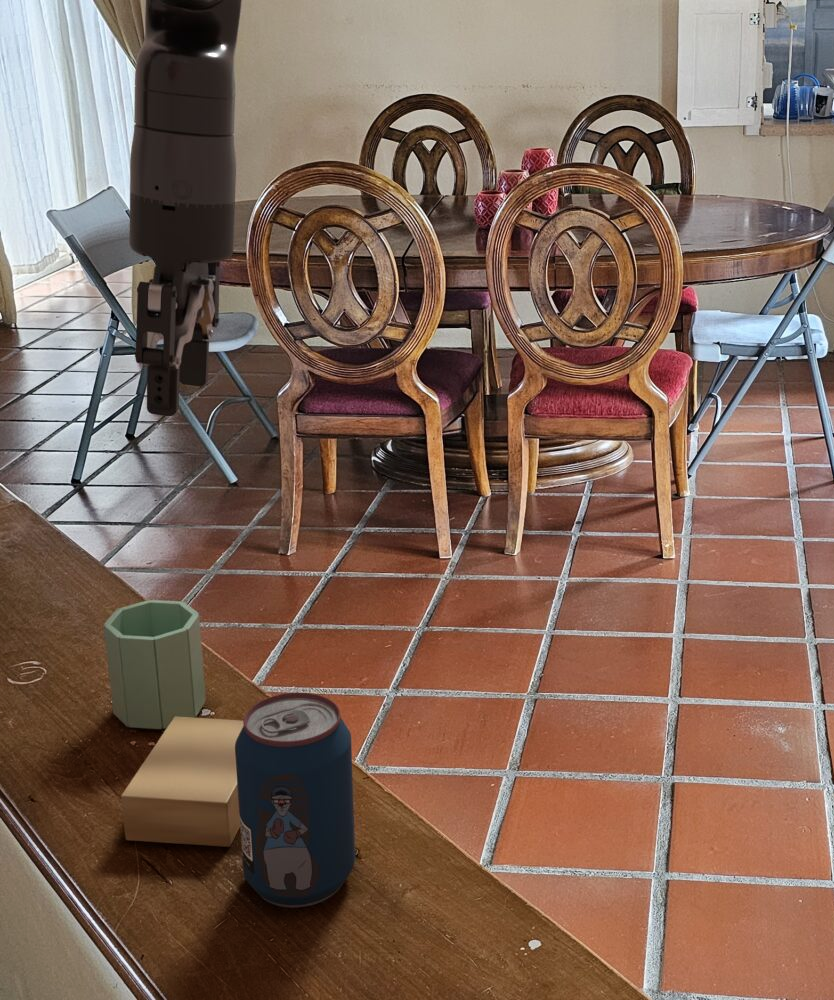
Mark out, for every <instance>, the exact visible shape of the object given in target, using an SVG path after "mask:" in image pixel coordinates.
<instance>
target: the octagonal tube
mask: <svg viewBox="0 0 834 1000" xmlns="http://www.w3.org/2000/svg"><path fill="white" fill-rule="evenodd" d="M103 633H104V641H105V649H106V659H107V660H106V661H107V670H108V676H109V677H108V678H109V687H110V695H111V704H112V705H111V706H112V713H113V715H115V717H116V718H117V719H119V721H120V723H121V724H122V725H123V726H124V727H125V728H128V729H130V730H134V731H137V732H142V733H143V732H145V733H157V732H158V733H159V732H165V730H166V729H167V727H168V726H169V724H170V723H171V721H172V720H173V718H174V717H175V716H178V717H193V718H198V716H199V714H201V711H202V708H203V707H204V704H206V701H207V697H206V695H207V694H206V684H205V683H206V682H205V671H204V670H205V669H204V659H203V647H202V646H203V645H202V634H201V621H200V613H199V612H198V611H197V610H195V609H194V608H193V607H191V605H188V603H186V602H185V601H179V600H163V599H162V600H161V599H150V600H149V599H147V600H143V601H141V602H136V603H133V604H130V605H127V606H122V607H119V608H117V609H115V610H114V612H113V613H112V614H111V615H110V617H108V619H107V620H106V621H105V622H104V623H103Z"/></svg>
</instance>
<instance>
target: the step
mask: <svg viewBox="0 0 834 1000" xmlns="http://www.w3.org/2000/svg"><path fill="white" fill-rule="evenodd" d="M243 721H244V720H239V719H225V718H223V719H222V718H207V717H196V718H193V717H178V716H175V717H174V718H173V720H172V721H171V723H170V724H169V726H168V727H167V729H166V730H165V731H163V733H162V734H161V736H160V737H159V739H158V741H157V742H156V744H155V745H154V746H153V748H152V749H151V751H150V752H149V754H148V755H147V757H146V758H145V760H144V761H143V763H142V764H141V766H140V767H139V769H138V770H137V772H136V773H135V775H133V778H131V780H130V782H129V783H128V785H127V786H126V788H125V789H124V791H123V792H122V794H121V795H120V801H121V811H122V818H123V826H124V838H125V841H133V842H147V843H149V842H150V843H163V844H177V845H178V844H180V845H191V846H192V845H194V846H207V847H208V846H211V847H225V848H230V847H231V846H232V844H233V841H234V840H235V838H236V835H237V834H238V832H239V830H240V815H239V801H238V786H237V771H236V756H235V743H236V740H237V738H238V736H239V734H240V732H241V730H242V728H243V726H244V725H243Z"/></svg>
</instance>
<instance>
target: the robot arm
mask: <svg viewBox="0 0 834 1000" xmlns="http://www.w3.org/2000/svg"><path fill="white" fill-rule="evenodd" d="M242 3H243V0H145V13H144V14H145V15H144V17H145V18H144V40H143V43H142V45H141V47H140V49H139V51H138V54H137V56H136V57H137V58H136V63H135V71H134V102H133V103H134V105H133V106H134V109H133V110H134V113H133V114H134V115H133V117H134V120H133V122H134V125H133V136H132V141H131V149H130V159H129V165H130V166H129V169H130V170H129V174H130V175H129V242H128V243H129V246H130V249H131V250H132V251H133V252H135V253H136V254H138V255H140V256H143V257H149V258H150V259H151V260H152V261H154V265H155V266H154V268H153V277H152V278H149V280H148V281H139V282H138V285H137V287H136V293H137V296H136V297H137V298H136V302H137V303H136V326H135V327H136V330H135V331H136V332H135V353H134V358H135V362H136V363H137V364H143V365H144V366H146V367H147V368H146V410H147V412H148V413H149V414H151V415H157V416H164V417H173V416H175V415H176V414H177V413H178V412H179V409H180V383H181V384H182V385H187V386H194V387H203V386H205V385H206V384H207V382H208V380H209V359H210V358H209V357H210V353H209V352H210V341H212V338H213V337H214V328H217V327H218V326H219V323H220V316H219V315H220V314H219V312H220V269H221V268H220V267H221V262H223V261H226V260H228V259H230V258H231V257H232V255H233V254H234V242H235V241H234V239H235V237H234V236H235V213H236V212H235V210H236V188H237V187H236V184H237V159H236V151H235V135H234V134H235V113H236V110H235V109H236V107H235V106H236V75H235V73H236V72H235V55H236V49H237V43H238V37H239V36H238V35H239V27H240V20H241V13H242ZM161 340H162V342H163V346H162V348H157V346H158V342H159V341H161Z"/></svg>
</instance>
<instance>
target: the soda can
mask: <svg viewBox="0 0 834 1000" xmlns="http://www.w3.org/2000/svg"><path fill="white" fill-rule="evenodd" d="M242 721H243V725H244V726H243V728H242V730H241V732H240V734H239V736H238V738H237V740H236V743H235V756H236V771H237V786H238V801H239V815H240V828H239V830H240V843H241V857H242V871H243V875H244V878H245V879H246V881H247V883H248V884H249V885H250V887H251V888H252V890H254V891H255V892H256V893H257V894H258V895H259V896H260V897H261V898H262V899H263V900H265V901H266V902H267V903H269V904H272V905H275V906H278V907H282V908H290V909H291V908H295V909H296V908H305V907H311V906H314V905H317V904H319V903H323V902H324V901H327V900H329V899H330V898H331V897H333V895H335V894H336V893H338V891H339V890H340V889H341V888H342V886H343V885H344V883H345V882H346V881H347V879H348V877H349V876H350V874H351V873H352V871H353V868H354V866H355V861H356V842H355V841H356V839H355V836H356V835H355V813H354V812H355V811H354V810H355V807H354V783H353V782H354V781H353V751H352V749H353V748H352V734H351V731H350V729H349V727H348V726H347V724H346V723H345V721H344V720H343V718H342V714H341V709H340V707H339V706H338V705H337V704H336V703H335V702H334V701H333V700H332V699H330V698H327V697H325V696H323V695H320V694H316V693H311V692H310V693H309V692H298V691H297V692H286V693H280V694H275V695H272V696H269V697H267V698H264V699H262V700H260V701H258V702H257V703H255V704H254V705H252V706H251V707H250V708H249V709H248V710H247V711H246V713H245V715H244V717H243V720H242Z"/></svg>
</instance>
